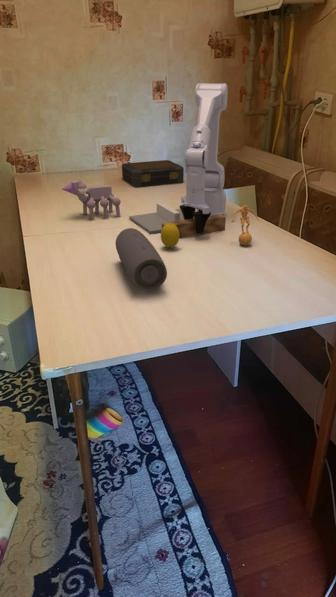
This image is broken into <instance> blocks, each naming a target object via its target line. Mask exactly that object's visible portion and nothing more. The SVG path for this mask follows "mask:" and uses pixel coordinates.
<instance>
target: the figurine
mask: <svg viewBox="0 0 336 597" xmlns="http://www.w3.org/2000/svg"><path fill="white" fill-rule="evenodd" d="M249 212H251V213H253V215H254V216H255V218H256V220H257V221H259V217H258V215H257V213H256V211H255V210H254V209H251V208H250V207H248V205H246V204H245V205H242V206H241V207H240V208H239V209H237V210H235V211H234V212H233V216H232V219H231V222H232V223H235V222H234V221H235V217H236V214H237V213H241V217H240V224H241V233H240V234H239V237H238V242H239V244H240V245H242V246H243V247H244V246H249V245H250V244H251V243H252V241H253V237H252V235H251V233H250V232H249V229H248V228H249V226H250V225H251V222H250V217H249V216H248V214H249ZM245 223H246V224H247V225H246V227H245ZM244 227H245V229H246V232H245V231H244V230H245V229H244Z"/></svg>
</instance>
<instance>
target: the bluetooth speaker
mask: <svg viewBox="0 0 336 597" xmlns="http://www.w3.org/2000/svg"><path fill="white" fill-rule="evenodd" d="M115 249H116V252H117V254H118V259H119V260H120V262H121V266H122V267H123V268H124V271H125V272H126V273H127V275H128V276H129V278H130V279H131V281H132V282H133V284H134V285H135V286H136V287H138V289H140V290H141V291H145V292H146V291H154V290H155V291H156V290H157V289H159V288H160V287H161V286H162V285H164V283H165V282H166V280H167V277H168V272H167V267H166V265H165V263H164V260H163V258H162V257H161V255H160V254H159V252H158V251H157V249H156V247H155V246H154V245H153V244H152V242H151V241H150V240H149V239H148V237H147V236H146V235H145V234H144V233H142V231H140V230H138V229H137V228H134V227H133V228H132V227H129V228H128V227H127V228H125V229H123V230H121V231H120V232H119V234H117V237H116V239H115Z"/></svg>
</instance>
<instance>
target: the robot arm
mask: <svg viewBox="0 0 336 597" xmlns="http://www.w3.org/2000/svg"><path fill="white" fill-rule="evenodd" d="M228 87H229V86H228V85H227V83H225V82H224V83H200V82H198V83H197V84H196V86H195V88H194V101H195V104H196V107H198V117H197V125H195V126H193V128H192V131H191V136H190V140H189V145H188V148H186V150H184V151H185V152H184V170H185V171H184V172H185V174H186V182H185V183H186V186H185V187H186V188H185V192H186V194H185V196H181V198H180V200H181V205H179V209H181V211H182V214H183V217H184V220H186V219H192V218H193V217H194V218H195V224H196V233H197V234H199V233H203V231H204V227H205V224H206V222H207V220H208V218H209V216H210V215H216V214H221V215H227V212H226V208H227V207H226V205H227V193H226V191H225V190H224V189H223V188H224V185H225V178H226V175H225V167H224V165H222V164H221V162H219V161H218V154H219V153H218V152H219V137H220V136H219V134H220V118H221V114H222V112H223V111H225V110H227V107H228V96H229V95H228V94H229V93H228V92H229V88H228Z"/></svg>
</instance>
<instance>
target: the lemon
mask: <svg viewBox="0 0 336 597" xmlns="http://www.w3.org/2000/svg"><path fill="white" fill-rule="evenodd" d="M179 240H180V239H179V230H178V228H177V227H176V226H175V225H174V224H172V223H169V224H166V225H165V226H164V227H163V228H162V231H161V233H160V241H161V243H162V244H163V245H164V246H165V247H167V248H168V249H172V248H173V247H175V246H177V244H178V243H179Z"/></svg>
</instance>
